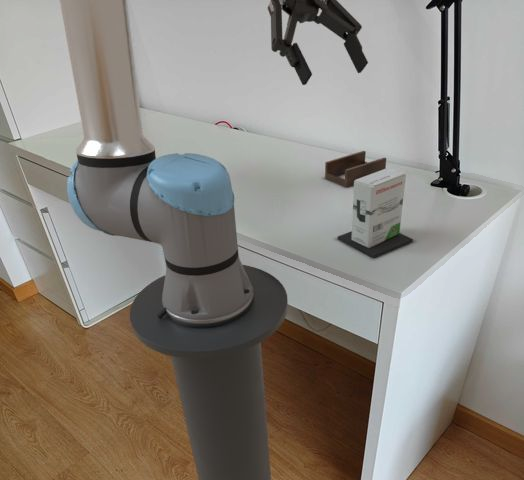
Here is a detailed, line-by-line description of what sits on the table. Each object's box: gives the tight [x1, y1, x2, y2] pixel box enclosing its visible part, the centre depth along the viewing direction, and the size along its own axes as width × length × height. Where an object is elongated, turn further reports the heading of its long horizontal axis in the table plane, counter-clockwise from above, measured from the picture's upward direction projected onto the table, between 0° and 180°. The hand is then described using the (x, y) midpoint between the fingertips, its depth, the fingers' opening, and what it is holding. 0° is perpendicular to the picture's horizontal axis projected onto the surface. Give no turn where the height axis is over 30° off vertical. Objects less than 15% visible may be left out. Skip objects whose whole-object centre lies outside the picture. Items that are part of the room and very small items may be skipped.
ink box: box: [351, 168, 407, 248], centre depth 91 cm, size 9×5×12 cm, turn 126°
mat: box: [337, 230, 414, 259], centre depth 95 cm, size 10×10×1 cm
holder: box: [324, 150, 387, 188], centre depth 121 cm, size 12×8×4 cm, turn 124°
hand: (336, 74), depth 94 cm, fingers open, 13 cm apart
